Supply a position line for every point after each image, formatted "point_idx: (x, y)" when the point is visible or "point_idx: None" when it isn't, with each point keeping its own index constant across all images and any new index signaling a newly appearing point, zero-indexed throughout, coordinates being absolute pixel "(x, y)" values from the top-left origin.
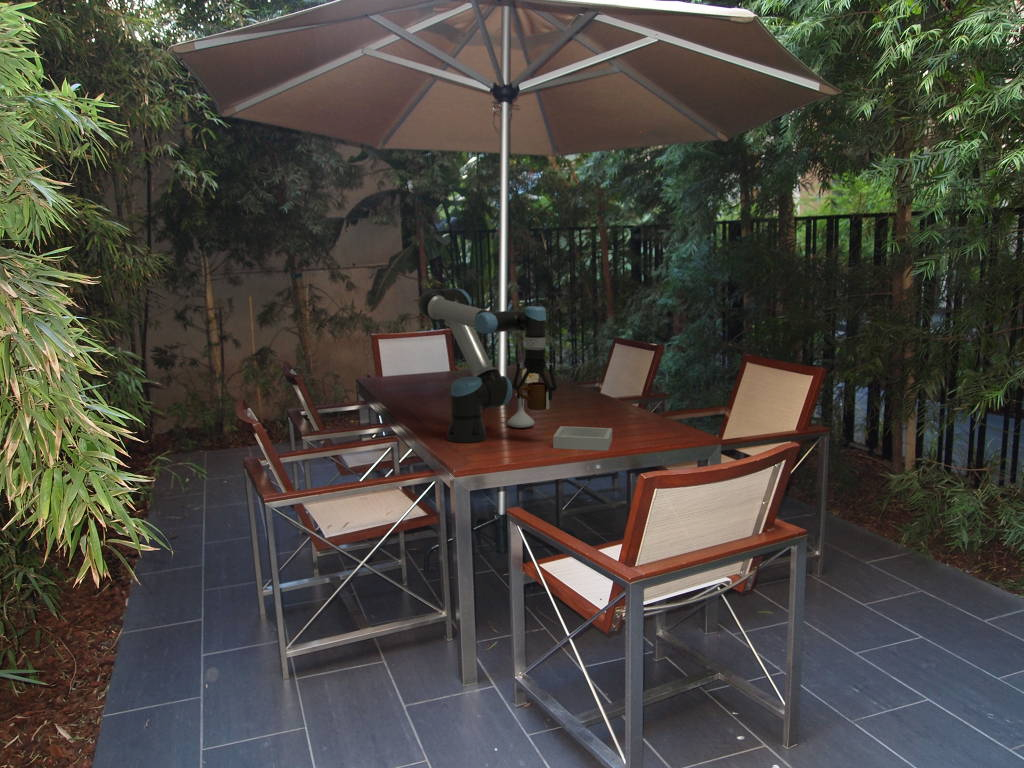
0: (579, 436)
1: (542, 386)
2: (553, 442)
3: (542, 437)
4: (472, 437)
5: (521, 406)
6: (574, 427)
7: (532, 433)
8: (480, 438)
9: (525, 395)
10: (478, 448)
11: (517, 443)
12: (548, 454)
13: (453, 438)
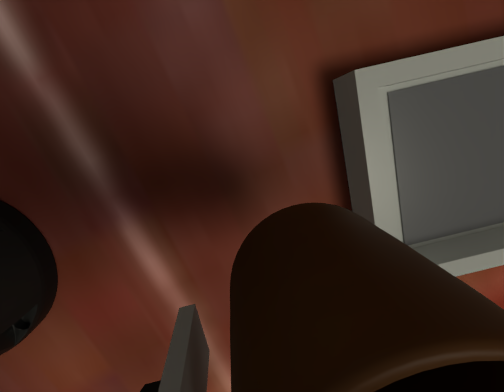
0: (491, 251)
1: None
2: None
3: (257, 110)
4: (25, 336)
5: (208, 360)
6: (433, 71)
7: (178, 44)
8: (49, 301)
9: None
10: (113, 379)
11: (206, 256)
12: None
13: None
